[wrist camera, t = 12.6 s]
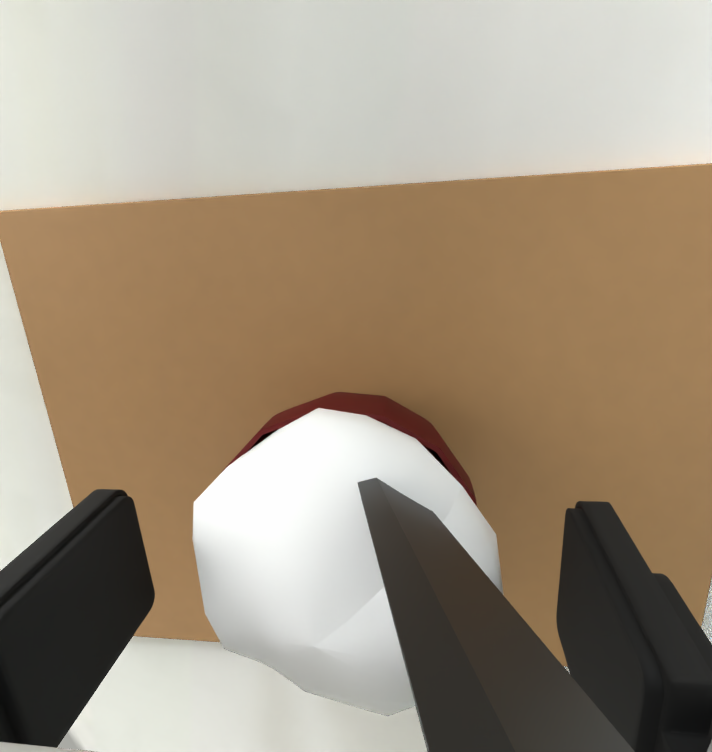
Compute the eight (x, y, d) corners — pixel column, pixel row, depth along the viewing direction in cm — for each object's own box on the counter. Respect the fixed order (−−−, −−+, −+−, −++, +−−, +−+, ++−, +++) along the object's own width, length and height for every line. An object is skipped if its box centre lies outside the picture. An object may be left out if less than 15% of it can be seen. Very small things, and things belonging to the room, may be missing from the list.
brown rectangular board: (789, 158, 11) (798, 157, 11) (687, 667, 16) (691, 675, 16) (0, 211, 14) (-9, 211, 14) (112, 628, 19) (107, 634, 19)
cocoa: (319, 595, 17) (94, 1406, 5) (192, 455, 16) (-420, 1111, 4) (579, 451, 14) (1239, 1531, 3) (447, 267, 13) (596, 751, 1)
